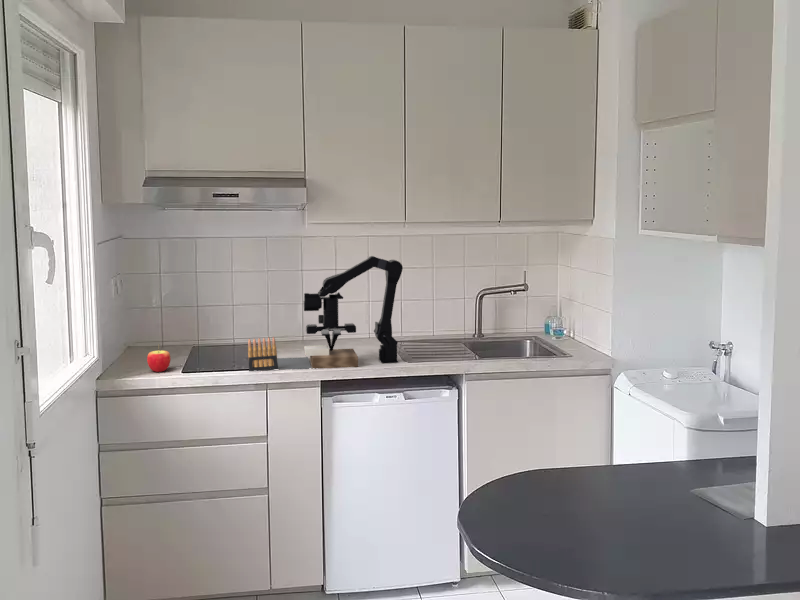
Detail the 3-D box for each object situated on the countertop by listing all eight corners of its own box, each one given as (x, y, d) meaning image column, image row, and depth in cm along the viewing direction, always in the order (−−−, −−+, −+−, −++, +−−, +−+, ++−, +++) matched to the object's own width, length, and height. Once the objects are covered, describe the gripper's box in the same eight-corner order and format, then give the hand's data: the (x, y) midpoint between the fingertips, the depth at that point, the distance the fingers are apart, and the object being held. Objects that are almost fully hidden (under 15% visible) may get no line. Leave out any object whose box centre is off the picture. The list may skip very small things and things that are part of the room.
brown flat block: (353, 358, 323) (352, 348, 323) (357, 366, 308) (357, 356, 307) (310, 360, 320) (309, 350, 320) (312, 368, 305) (312, 358, 304)
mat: (308, 358, 324) (308, 357, 324) (311, 368, 305) (311, 367, 305) (272, 359, 322) (272, 358, 322) (273, 370, 302) (273, 369, 302)
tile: (327, 351, 317) (327, 345, 316) (329, 355, 310) (329, 348, 310) (304, 352, 315) (304, 346, 315) (305, 355, 308) (305, 349, 308)
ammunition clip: (278, 367, 304) (275, 336, 303) (278, 368, 303) (275, 336, 301) (249, 370, 303) (246, 338, 301) (248, 371, 301) (246, 339, 299)
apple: (172, 368, 306) (171, 342, 305) (169, 373, 298) (168, 346, 296) (149, 369, 305) (148, 342, 304) (146, 374, 297) (144, 347, 295)
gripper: (352, 307, 321) (353, 346, 323) (305, 308, 318) (305, 347, 320) (356, 311, 310) (356, 351, 312) (306, 312, 307) (307, 353, 309)
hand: (331, 350), depth 313 cm, fingers closed
